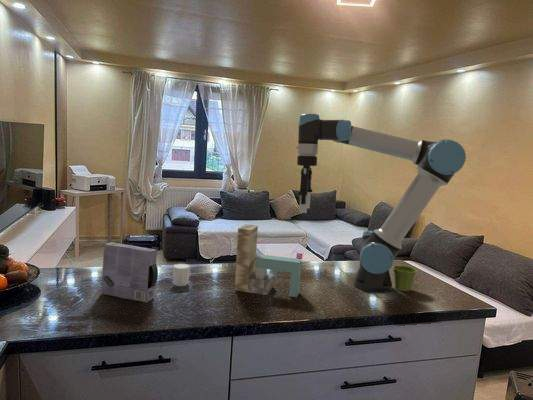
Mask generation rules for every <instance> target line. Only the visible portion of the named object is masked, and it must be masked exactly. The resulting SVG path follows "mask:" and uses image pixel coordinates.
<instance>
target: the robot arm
mask: <svg viewBox="0 0 533 400" xmlns="http://www.w3.org/2000/svg"><path fill="white" fill-rule="evenodd" d="M297 136H298V137H297V139H298V140H297V141H298V142H297V144H298V145H297V146H296V147H295V148H296V149H297V154H298V155H297V158H296V160H297V161H296V164H297V166H302V168H301V171H300V185H299V186H300V188H299V192H298V193H297V195H298V196H299V206H298V207H299V209H298V210H299V211H298V213H299V214H300V213H301V214H307V213H308V209H311V195H312V194H311V193H313V189H312V176H313V169H312V167H316V166H317V165H318V156H317V155H318V153H319V142H318V141H319V140H320V141H332V142H335V143H341V144H345V145H349V146H352V147H356V148H360V149H364V150H368V151H372V152H376V153H378V154H379V153H380V154H384V155H388V156H392V157H396V158H400V159H405V160H407V161H411V162H412V164H414V165H417V167H416V169H417V174H416V176H415V177H414V178H413V180H412V182H411V183H410V185H409V186H408V188H407V189H406V190H405V192H404V193H403V195H402V196H401V198H400V199H399V201H398V202H397V203H396V205H395V206H394V208H393V209H392V211H391V212H390V214H389V215H388V216H387V218H386V220H385V221H384V222H383V224H382V225H381V227H380V228H377V229H374V230H364V231H363V232H362V236H361V238H362V240H361V247H360V252H359V254H358V255H359V257H358V258H359V262H360V263H359V267H358V269H357V272H356V274H355V275H354V280H353V285H354V287H356V288H357V289H359V290H362V291H365V292H368V293H369V292H370V293H378V294H382V293H383V294H384V293H389V292H391V291H392V290H393V283H392V282H393V281H392V277H391V274H390V273H391V272H390V269H392V268H393V264H394V260H395V259H396V257H397V256H398V254H399V253H400V251H401V250H403V248H402V247H403V246H402V241H403V239H404V238H405V237H406V235H407V234H408V233H409V231H410V230H411V228H412V227H413V225H414V224H415V223H416V221H417V220H418V218H419V217H420V215H421V214H422V213H423V211H424V210H425V209H426V207H427V205H428V204H429V203H430V202H431V200H432V198H433V197H434V196H435V194H436V193H437V192H438V190H439V188H440V187H442V186H448V184H449V182H450V181H451V179H453V177H454V176H455V174H456V173H458V172H459V171H460V170H462V168H463V167H464V165H465V163H466V158H467V157H466V156H467V155H466V151H465V149H464V146H462V145H461V144H460V143H459V142H458V141H455V140H453V139H447V138H446V139H440V140H438V141H431V140H430V141H429V140H424V139H420V140H418V141H417V140H414V139H408V138H404V137H399V136H396V135H392V134H387V133H383V132H379V131H375V130H371V129H366V128H363V127H358V126H355V125H354V126H353V125H352V122H351V120H349V119H320V115H319V114H318V113H317V114H316V113H302V114H301V115H299V122H298V135H297Z"/></svg>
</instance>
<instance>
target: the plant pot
mask: <svg viewBox="0 0 533 400" xmlns="http://www.w3.org/2000/svg"><path fill="white" fill-rule="evenodd" d="M392 270H393V273H394V289H396V290H398V291H400V292H410V291H411V290H412V287H413V283H414V282H413V281H414V279H415V276H416V273H418V270H417V269H416V268H414V267H411V266H407V265H394V266H393V265H392Z"/></svg>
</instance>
